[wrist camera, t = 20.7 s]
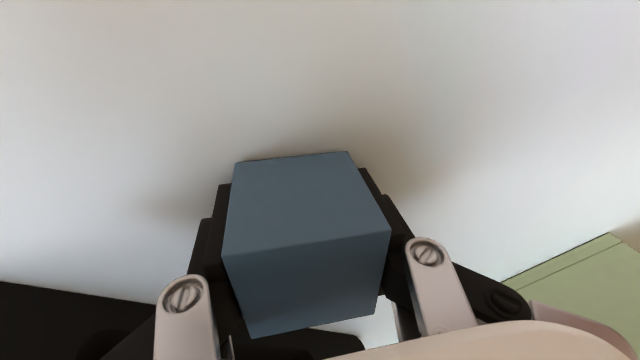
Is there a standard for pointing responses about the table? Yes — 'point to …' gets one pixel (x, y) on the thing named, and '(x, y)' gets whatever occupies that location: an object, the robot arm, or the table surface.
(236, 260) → the block
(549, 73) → the table surface
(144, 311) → the device stand
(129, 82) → the table surface
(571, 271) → the chest
